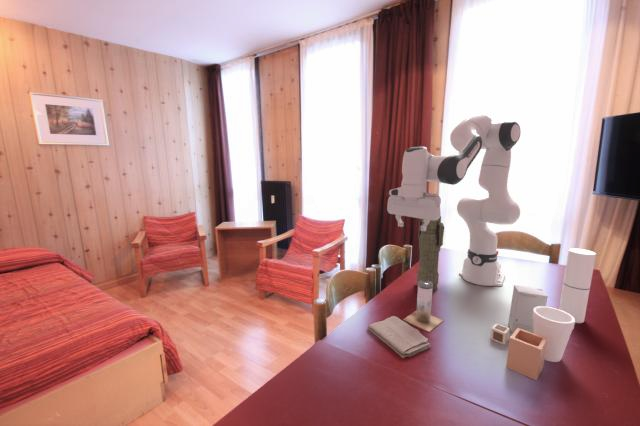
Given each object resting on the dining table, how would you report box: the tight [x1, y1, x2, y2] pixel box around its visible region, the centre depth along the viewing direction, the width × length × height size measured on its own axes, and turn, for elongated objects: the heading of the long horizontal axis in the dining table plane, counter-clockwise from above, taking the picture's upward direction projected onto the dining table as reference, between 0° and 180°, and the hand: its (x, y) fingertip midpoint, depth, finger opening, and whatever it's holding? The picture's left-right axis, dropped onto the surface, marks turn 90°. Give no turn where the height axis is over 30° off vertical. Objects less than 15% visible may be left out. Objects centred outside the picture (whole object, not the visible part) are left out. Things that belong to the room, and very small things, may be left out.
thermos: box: [416, 214, 445, 292], centre depth 129 cm, size 9×12×35 cm
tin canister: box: [416, 280, 433, 323], centre depth 103 cm, size 5×5×14 cm
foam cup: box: [533, 305, 576, 363], centre depth 85 cm, size 10×9×13 cm
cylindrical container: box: [558, 247, 597, 324], centre depth 104 cm, size 7×7×25 cm
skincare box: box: [507, 284, 549, 334], centre depth 97 cm, size 8×6×15 cm
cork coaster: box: [402, 309, 444, 333], centre depth 105 cm, size 10×10×1 cm
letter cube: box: [489, 322, 511, 346], centre depth 94 cm, size 4×4×4 cm
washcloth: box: [367, 315, 432, 359], centre depth 95 cm, size 12×18×3 cm, turn 29°
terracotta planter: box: [505, 328, 548, 381], centre depth 81 cm, size 7×7×9 cm
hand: (411, 228), depth 110 cm, fingers open, 8 cm apart
